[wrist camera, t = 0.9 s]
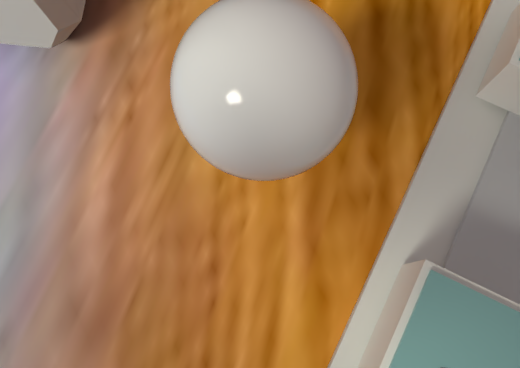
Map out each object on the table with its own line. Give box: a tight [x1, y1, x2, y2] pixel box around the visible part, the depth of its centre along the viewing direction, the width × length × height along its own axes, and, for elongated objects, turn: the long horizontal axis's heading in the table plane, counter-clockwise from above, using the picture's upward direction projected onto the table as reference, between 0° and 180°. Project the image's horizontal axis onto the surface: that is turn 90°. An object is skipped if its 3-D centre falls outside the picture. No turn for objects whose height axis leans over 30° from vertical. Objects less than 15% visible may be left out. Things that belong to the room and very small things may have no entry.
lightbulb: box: [170, 0, 358, 181], centre depth 19 cm, size 6×6×11 cm
